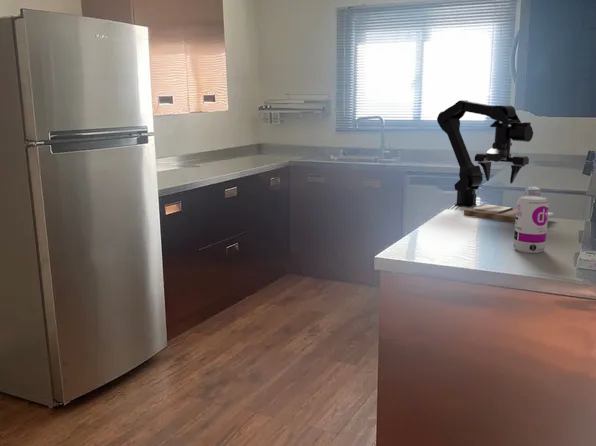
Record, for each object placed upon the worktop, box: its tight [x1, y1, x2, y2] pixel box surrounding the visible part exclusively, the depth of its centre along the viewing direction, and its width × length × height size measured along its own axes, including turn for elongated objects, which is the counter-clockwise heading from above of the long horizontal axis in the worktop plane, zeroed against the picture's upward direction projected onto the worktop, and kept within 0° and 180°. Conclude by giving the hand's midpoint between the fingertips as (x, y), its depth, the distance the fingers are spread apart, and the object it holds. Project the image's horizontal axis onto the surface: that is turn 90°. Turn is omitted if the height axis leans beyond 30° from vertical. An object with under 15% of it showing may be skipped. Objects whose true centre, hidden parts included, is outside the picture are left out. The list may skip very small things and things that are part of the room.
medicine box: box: [524, 186, 542, 197], centre depth 224 cm, size 8×4×9 cm, turn 168°
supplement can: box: [512, 195, 550, 254], centre depth 165 cm, size 8×8×15 cm
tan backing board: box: [463, 203, 517, 224], centre depth 213 cm, size 22×16×3 cm
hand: (499, 182), depth 221 cm, fingers open, 9 cm apart
